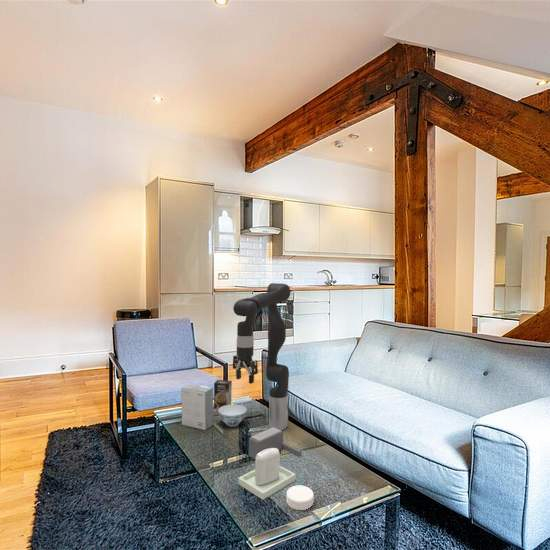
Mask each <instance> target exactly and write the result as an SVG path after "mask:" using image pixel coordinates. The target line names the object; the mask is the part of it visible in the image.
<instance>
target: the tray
mask: <svg viewBox="0 0 550 550" xmlns="http://www.w3.org/2000/svg"><path fill="white" fill-rule="evenodd" d="M296 478H297V474H296V473H294V472H293V471H290V470H289V469H287V468H285V467H283V466H282V465H280V466H279V479H277V480H274V481H272V482H269V483H266V484H263V485H257V484H256V481H255V468H254V469H252V470H250V471H249V472H247V473H245V474H243V475H241V476H239V477H238V478H237V484H238V485H239V486H241V487H242V488H244V489H246V491H248V492H250V493H252V494H253V495H254V496H256V497H258V498H259V499H260V500H262V501H264V500H266V499H267V498H269V497H270V496H272V495H274V494H276V493H277V492H279V491H280V490H283V488H285V487H287V486H288V485H290V484H292V483H293V482H295V481H296V480H297V479H296Z"/></svg>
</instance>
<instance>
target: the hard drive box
mask: <svg viewBox="0 0 550 550" xmlns="http://www.w3.org/2000/svg"><path fill="white" fill-rule="evenodd" d="M213 425H214V387H211V386H206V385H205V386H204V385H200V384H199V385H198V384H194V383H193V384H192V383H189V384H186V385H185V386H183V387H181V426H187V427H189V428H190V427H191V428H194V429H199V430H203V431H206V430H207V429H210V428H211V427H212V426H213Z"/></svg>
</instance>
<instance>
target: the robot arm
mask: <svg viewBox="0 0 550 550" xmlns="http://www.w3.org/2000/svg"><path fill="white" fill-rule="evenodd" d="M290 297H291V288H290V286H289V285H288V284H286V283H279V282H277V283H275V282H273V283H269V284H268V286H267V289H266V292H262V293H258V294H255V295H254V296H251V297H246V298H241V299H239V300H237V301H236V302H234V304H233V312H234V314H235V315H237V316H239V317H245V320H243V321H242V320H241V321H239V322H238V323H237V328H236V329H237V332H236V334H237V335H236V355H233V357H232V369H233V370H235V378H236V380H241V378H242V368H243V369H245V370H246V372H248V384H250V385H251V384H254V382H255V375H257V374H258V373H259V372H258V371H259V370H258V360H256V359H255V360H253V356H254V344H255V343H254V342H255V341H254V325H255V320H256V317H257V313H258V312H259V311H261V310H262V309H264V308H266V307H267V314H268V319H267V320H268V321H267V322H268V324H267V360H266V369H265V373H266V376H265V377H266V379H267V380H268V381H269V382H274V383H277V384H276V385H277V386H274V387H271V388H270V389H269V392H268V393H269V394H268V395H269V396H268V399H269V400H268V402H269V403H268V429H270V428H272V427H274V428H276V429H279V430H281V431H282V430H283V431H285V430H286V429H287V428H286V427H287V426H288V427H289V409H288V408H287V406H288V390H289V381H290V380H289V379H290V370H289V367H288V366H287V365H285V364H280V363H278V362H277V361H278V356H279V355H278V354H279V352H280V350H281V349H282V347H283V345H284V344H285V341H286V338H287V337H286V335H287V334H286V333H287V328H286V324H285V322H284V320H283V317H282V316H281V314H280V312H279V309H278V303H284V302H286V301H288V300H289V299H290ZM284 429H285V430H284Z"/></svg>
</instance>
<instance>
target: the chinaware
mask: <svg viewBox="0 0 550 550" xmlns="http://www.w3.org/2000/svg"><path fill="white" fill-rule="evenodd" d="M217 411H218V415H219V417H220V420H221V421H222V422H223V423H225V425H226V426H227V427H238V425H240V423H241V422H242V421H243V420H244V419H245V417H246V414H247V411H248V409H247V407H246V406H244V405H241V404H237V403H236V404H233V403H231V405H225V406H222V407H220V408H219V410H217Z"/></svg>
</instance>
